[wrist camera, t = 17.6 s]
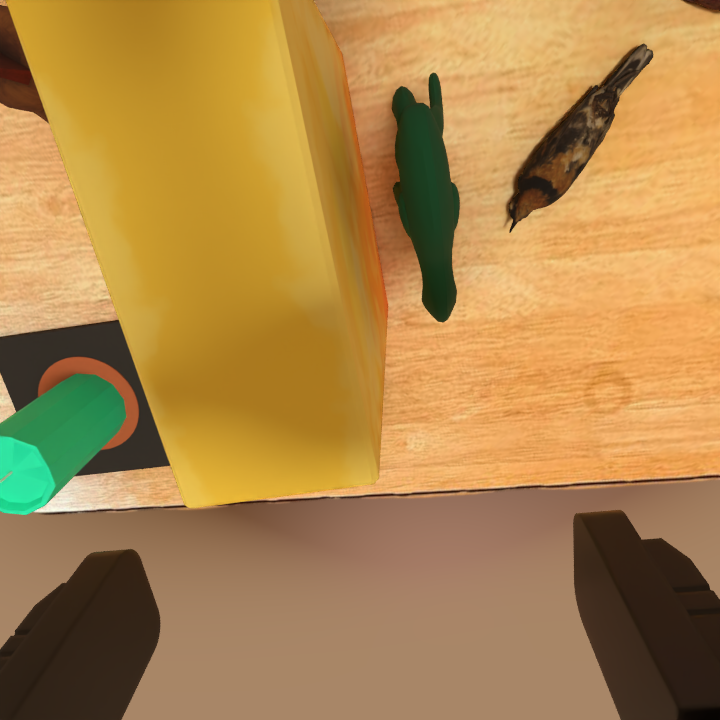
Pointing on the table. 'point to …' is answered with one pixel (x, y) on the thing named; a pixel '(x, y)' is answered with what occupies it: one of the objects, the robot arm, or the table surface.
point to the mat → (86, 356)
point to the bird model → (573, 141)
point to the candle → (55, 440)
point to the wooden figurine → (16, 71)
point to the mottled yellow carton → (240, 227)
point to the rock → (708, 3)
